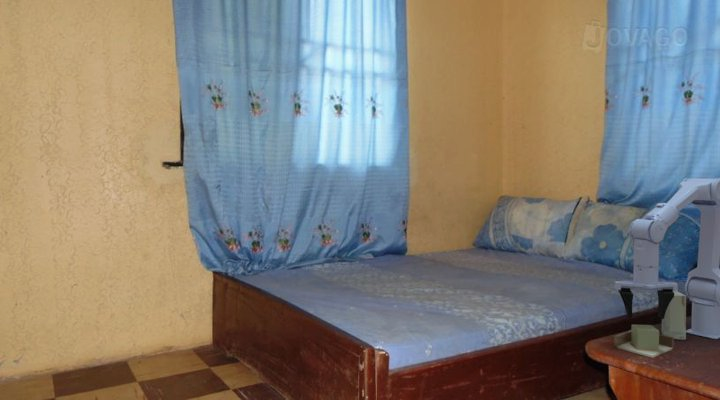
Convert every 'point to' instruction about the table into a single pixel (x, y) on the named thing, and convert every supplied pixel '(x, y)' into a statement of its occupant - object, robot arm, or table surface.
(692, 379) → the table surface
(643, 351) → the arena
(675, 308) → the skincare box
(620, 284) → the robot arm
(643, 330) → the olive cube
